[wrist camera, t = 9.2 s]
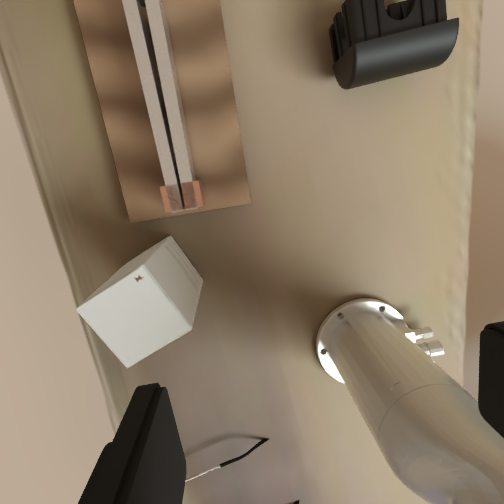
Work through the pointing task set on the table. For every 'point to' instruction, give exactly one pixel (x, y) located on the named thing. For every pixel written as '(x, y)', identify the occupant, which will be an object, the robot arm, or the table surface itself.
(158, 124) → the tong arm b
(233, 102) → the tong board
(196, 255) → the table surface
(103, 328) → the supplement box
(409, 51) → the end cap
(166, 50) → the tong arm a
